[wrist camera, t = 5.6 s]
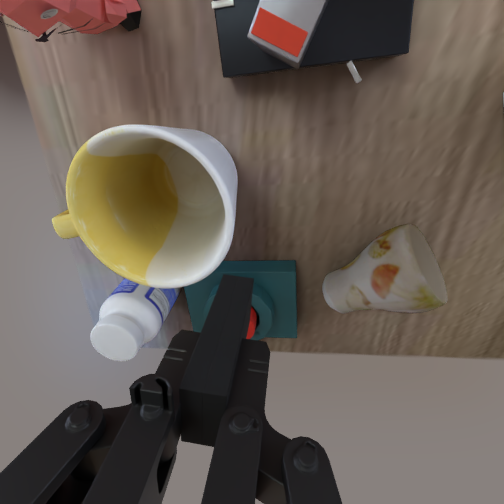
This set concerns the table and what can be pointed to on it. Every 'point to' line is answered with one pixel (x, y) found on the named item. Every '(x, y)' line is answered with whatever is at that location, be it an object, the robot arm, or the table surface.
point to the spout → (286, 27)
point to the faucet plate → (317, 35)
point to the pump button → (252, 323)
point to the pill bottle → (131, 319)
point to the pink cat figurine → (72, 15)
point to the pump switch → (253, 296)
